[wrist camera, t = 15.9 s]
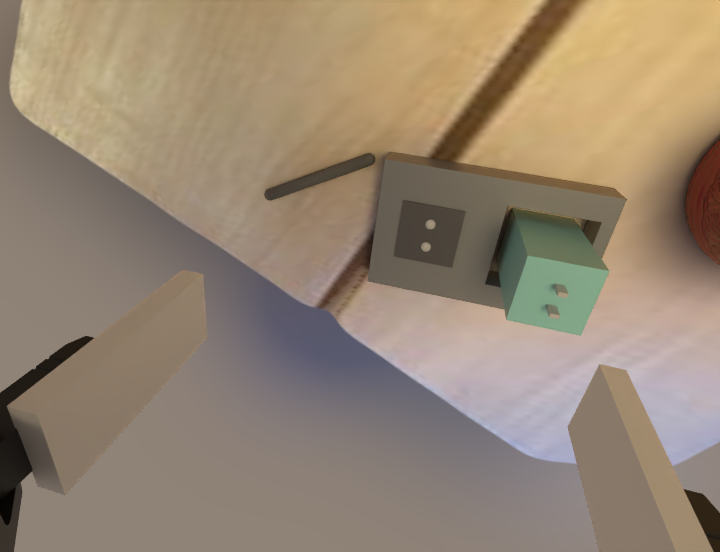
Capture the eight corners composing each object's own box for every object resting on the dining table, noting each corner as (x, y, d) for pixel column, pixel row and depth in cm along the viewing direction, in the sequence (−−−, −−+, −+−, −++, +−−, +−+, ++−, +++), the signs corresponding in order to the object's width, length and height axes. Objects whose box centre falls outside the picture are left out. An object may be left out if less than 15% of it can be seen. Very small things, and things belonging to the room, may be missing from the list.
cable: (269, 199, 41) (265, 203, 40) (265, 189, 40) (260, 192, 40) (377, 162, 37) (375, 164, 36) (373, 150, 37) (371, 153, 36)
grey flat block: (373, 267, 42) (366, 283, 39) (390, 151, 36) (383, 160, 34) (566, 305, 39) (575, 326, 36) (614, 188, 34) (628, 200, 31)
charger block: (496, 260, 39) (507, 329, 29) (512, 207, 36) (530, 263, 27) (554, 271, 38) (585, 346, 28) (573, 219, 36) (615, 279, 26)
